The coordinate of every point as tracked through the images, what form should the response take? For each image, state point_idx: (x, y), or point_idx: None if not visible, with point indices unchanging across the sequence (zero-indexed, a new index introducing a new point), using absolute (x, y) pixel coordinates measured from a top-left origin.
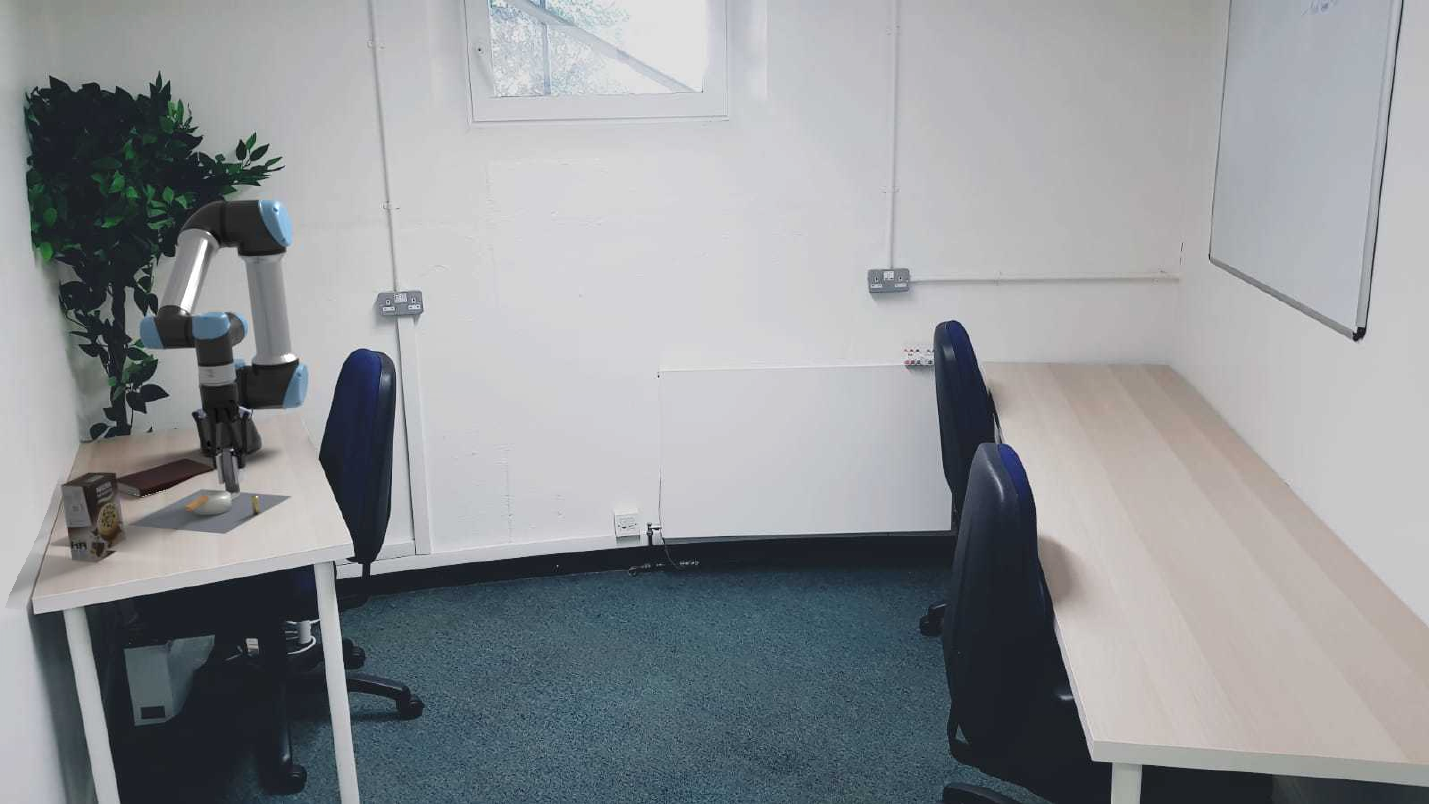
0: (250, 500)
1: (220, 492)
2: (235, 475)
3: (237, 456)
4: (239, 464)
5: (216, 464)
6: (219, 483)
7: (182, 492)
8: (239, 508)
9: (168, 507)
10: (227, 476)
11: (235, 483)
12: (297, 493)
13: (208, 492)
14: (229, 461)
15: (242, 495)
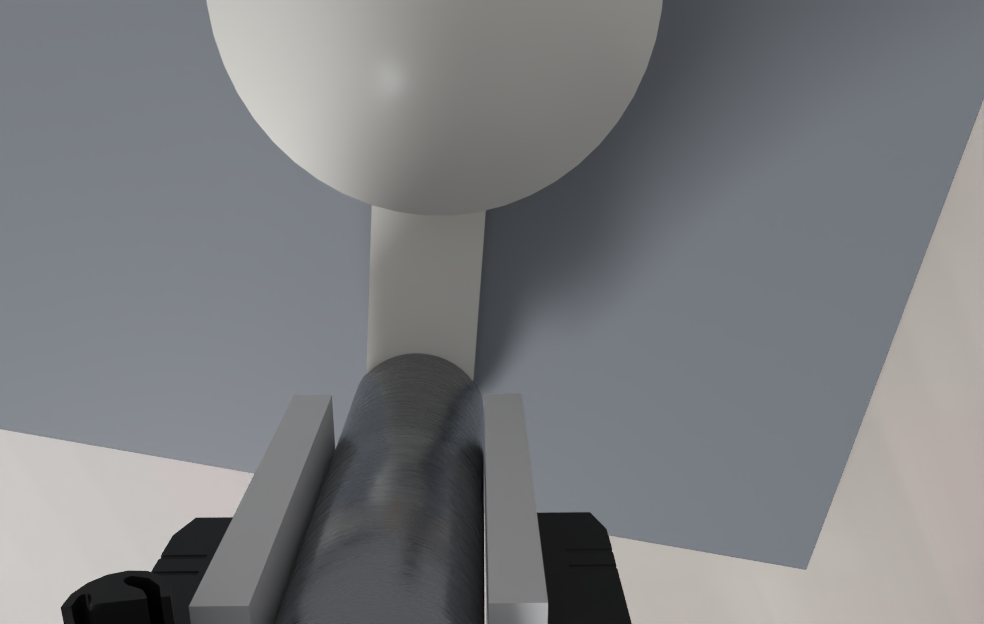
0: (200, 289)
1: (388, 145)
2: (298, 442)
3: (108, 580)
4: (208, 556)
5: (561, 553)
6: (518, 396)
7: (979, 596)
8: (182, 51)
9: (945, 76)
10: (404, 433)
11: (330, 398)
12: (8, 589)
13: (535, 141)
14: (323, 556)
15: None
